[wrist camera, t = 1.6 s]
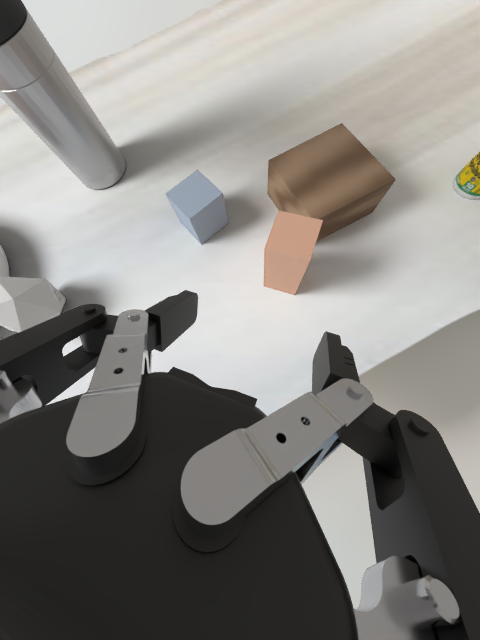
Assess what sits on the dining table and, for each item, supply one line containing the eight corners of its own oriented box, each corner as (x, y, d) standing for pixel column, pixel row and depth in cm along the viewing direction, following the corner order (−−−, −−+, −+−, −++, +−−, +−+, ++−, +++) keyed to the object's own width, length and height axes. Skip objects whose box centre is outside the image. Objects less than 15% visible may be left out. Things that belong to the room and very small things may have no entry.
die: (91, 312, 34) (39, 258, 28) (37, 352, 28) (-41, 295, 22) (67, 309, 37) (18, 262, 32) (17, 344, 32) (-55, 294, 26)
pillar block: (263, 286, 31) (264, 248, 21) (273, 258, 32) (278, 210, 22) (294, 295, 30) (310, 260, 20) (303, 266, 31) (323, 220, 21)
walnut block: (267, 195, 35) (268, 160, 29) (328, 163, 35) (341, 123, 29) (304, 248, 32) (314, 221, 26) (371, 213, 32) (395, 179, 26)
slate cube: (181, 222, 35) (165, 193, 29) (207, 202, 36) (197, 169, 30) (201, 244, 34) (189, 219, 28) (229, 222, 34) (222, 193, 28)
